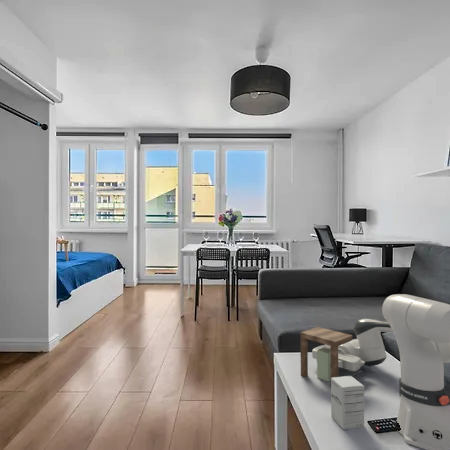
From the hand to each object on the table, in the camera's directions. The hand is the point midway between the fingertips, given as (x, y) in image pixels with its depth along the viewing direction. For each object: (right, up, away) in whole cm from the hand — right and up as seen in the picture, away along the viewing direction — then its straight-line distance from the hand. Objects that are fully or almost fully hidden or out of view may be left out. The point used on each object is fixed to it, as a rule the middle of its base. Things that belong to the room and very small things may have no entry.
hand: (324, 363), depth 141 cm
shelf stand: (+1, -6, 0) cm, 6 cm away
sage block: (+1, -6, 0) cm, 6 cm away
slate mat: (+9, -6, +8) cm, 13 cm away
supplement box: (-2, -6, -32) cm, 33 cm away
